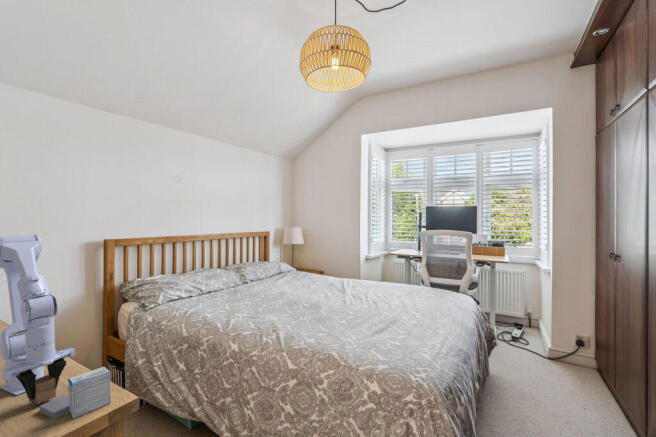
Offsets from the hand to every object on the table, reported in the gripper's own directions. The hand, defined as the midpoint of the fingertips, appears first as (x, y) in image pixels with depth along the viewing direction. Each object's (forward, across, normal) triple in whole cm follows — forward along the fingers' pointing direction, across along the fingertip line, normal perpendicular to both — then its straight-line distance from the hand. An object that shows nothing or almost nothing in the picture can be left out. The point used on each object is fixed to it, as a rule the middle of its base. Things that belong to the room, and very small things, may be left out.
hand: (42, 393), depth 83 cm
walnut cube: (+1, 0, 0) cm, 1 cm away
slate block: (+3, 0, -8) cm, 8 cm away
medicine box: (+3, +4, -15) cm, 15 cm away
